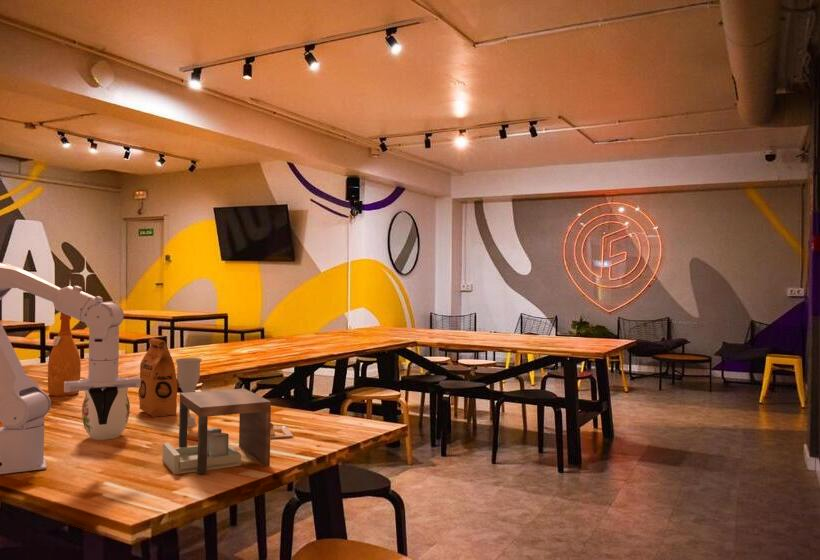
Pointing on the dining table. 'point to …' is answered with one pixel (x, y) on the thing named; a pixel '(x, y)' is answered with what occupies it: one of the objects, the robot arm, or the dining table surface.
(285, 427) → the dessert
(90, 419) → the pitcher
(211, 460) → the tray
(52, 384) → the wine bottle
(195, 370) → the chalice
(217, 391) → the miniature side table
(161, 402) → the coffee package
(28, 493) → the dining table surface
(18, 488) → the dining table surface
